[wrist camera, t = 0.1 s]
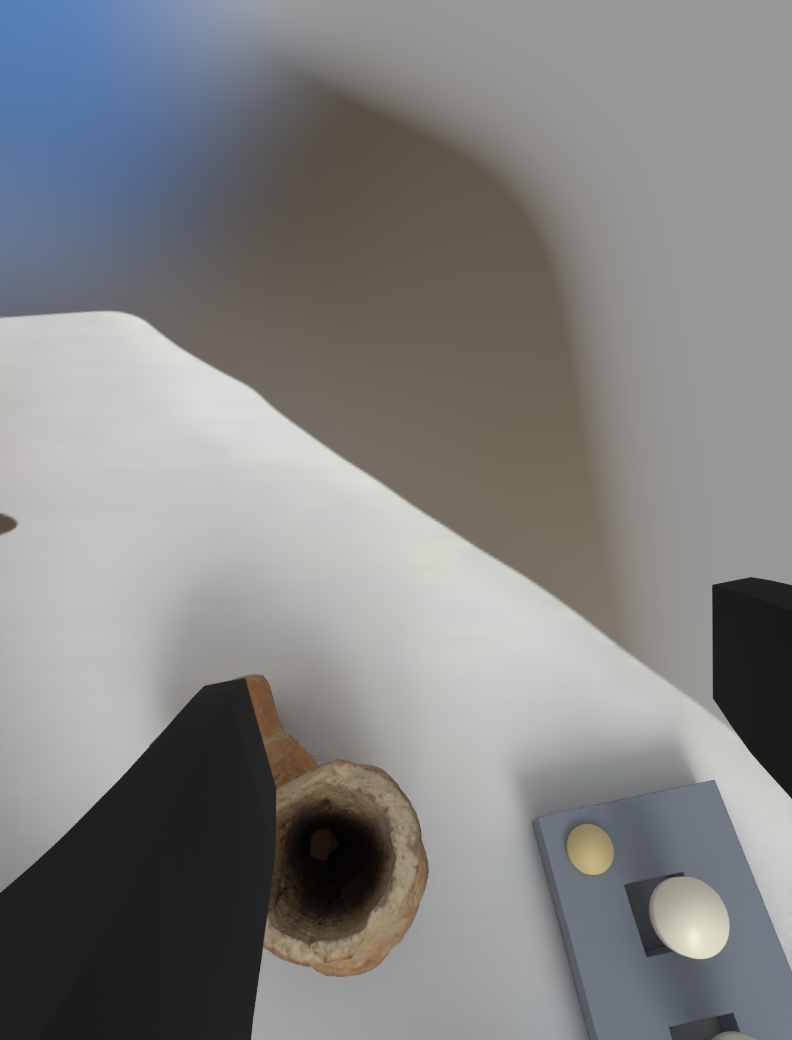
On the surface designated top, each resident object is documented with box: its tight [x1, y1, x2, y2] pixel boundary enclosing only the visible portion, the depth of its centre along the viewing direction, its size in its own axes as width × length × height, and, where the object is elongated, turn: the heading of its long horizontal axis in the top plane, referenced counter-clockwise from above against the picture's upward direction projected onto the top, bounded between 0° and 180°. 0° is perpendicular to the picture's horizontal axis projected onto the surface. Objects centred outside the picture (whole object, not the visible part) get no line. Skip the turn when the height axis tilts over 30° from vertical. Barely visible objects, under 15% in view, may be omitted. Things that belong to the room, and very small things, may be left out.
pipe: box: [149, 675, 429, 977], centre depth 34 cm, size 9×16×10 cm, turn 50°
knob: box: [648, 877, 730, 959], centre depth 31 cm, size 3×3×4 cm
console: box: [532, 780, 792, 1040], centre depth 32 cm, size 20×10×3 cm, turn 11°
